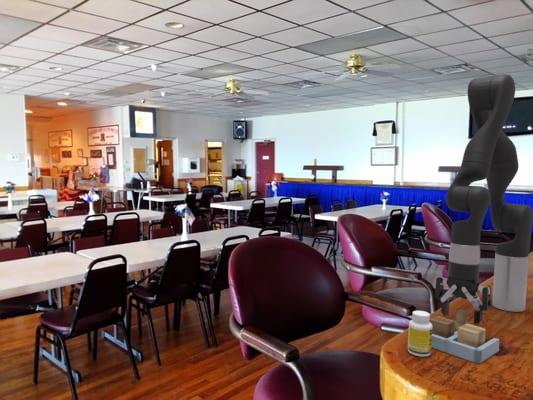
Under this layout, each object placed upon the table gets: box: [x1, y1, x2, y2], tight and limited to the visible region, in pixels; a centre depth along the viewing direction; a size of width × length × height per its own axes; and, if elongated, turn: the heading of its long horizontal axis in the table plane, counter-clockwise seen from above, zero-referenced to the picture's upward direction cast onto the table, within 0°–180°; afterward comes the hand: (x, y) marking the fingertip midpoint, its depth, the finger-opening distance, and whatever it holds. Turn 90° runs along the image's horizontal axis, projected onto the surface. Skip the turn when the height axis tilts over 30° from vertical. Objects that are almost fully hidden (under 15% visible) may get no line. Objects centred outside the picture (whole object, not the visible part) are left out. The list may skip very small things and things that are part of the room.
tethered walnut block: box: [429, 309, 469, 338], centre depth 115 cm, size 14×5×6 cm, turn 130°
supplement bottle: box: [407, 310, 432, 358], centre depth 105 cm, size 5×5×10 cm
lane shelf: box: [431, 333, 500, 365], centre depth 109 cm, size 11×16×3 cm
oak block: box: [457, 323, 487, 348], centre depth 106 cm, size 5×5×6 cm
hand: (460, 319), depth 118 cm, fingers open, 8 cm apart
